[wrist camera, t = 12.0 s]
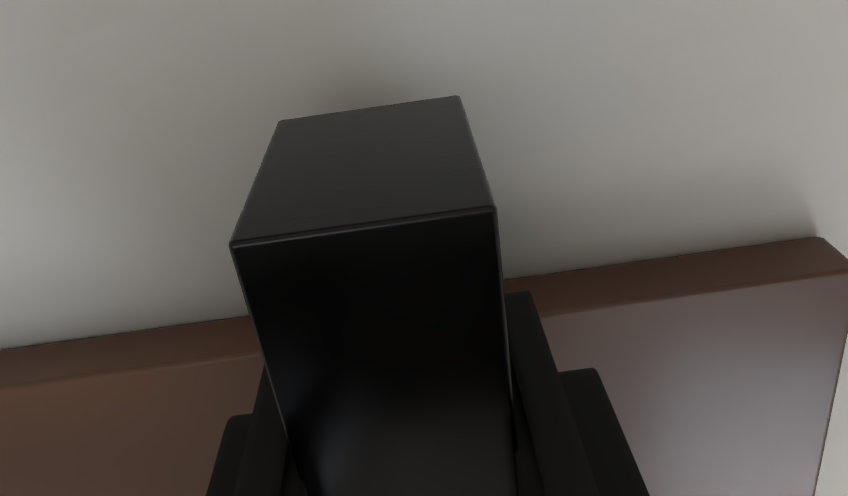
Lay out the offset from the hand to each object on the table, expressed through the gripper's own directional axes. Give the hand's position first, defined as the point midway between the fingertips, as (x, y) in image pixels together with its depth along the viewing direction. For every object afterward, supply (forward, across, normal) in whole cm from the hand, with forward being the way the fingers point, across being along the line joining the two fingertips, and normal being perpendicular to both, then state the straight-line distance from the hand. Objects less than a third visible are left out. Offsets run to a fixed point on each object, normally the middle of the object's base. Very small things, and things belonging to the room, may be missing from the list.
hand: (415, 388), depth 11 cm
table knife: (0, 0, +5) cm, 5 cm away
